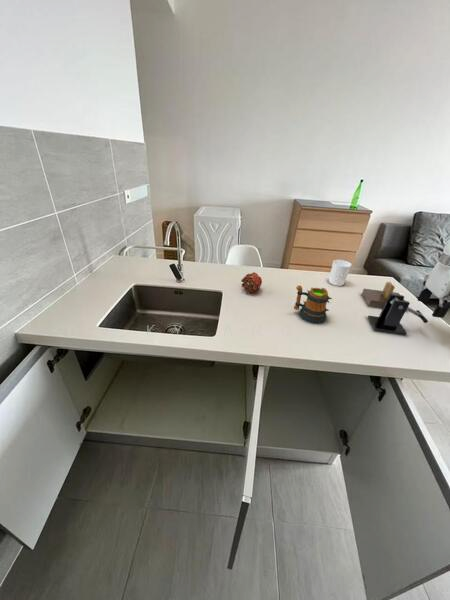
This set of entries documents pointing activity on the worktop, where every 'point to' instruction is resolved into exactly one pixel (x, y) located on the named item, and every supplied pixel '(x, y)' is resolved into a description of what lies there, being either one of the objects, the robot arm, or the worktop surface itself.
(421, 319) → the door lever
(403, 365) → the worktop surface
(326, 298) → the mug
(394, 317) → the handle bracket
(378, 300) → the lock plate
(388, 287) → the tall mustard panel
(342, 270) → the white cup
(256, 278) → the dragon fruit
